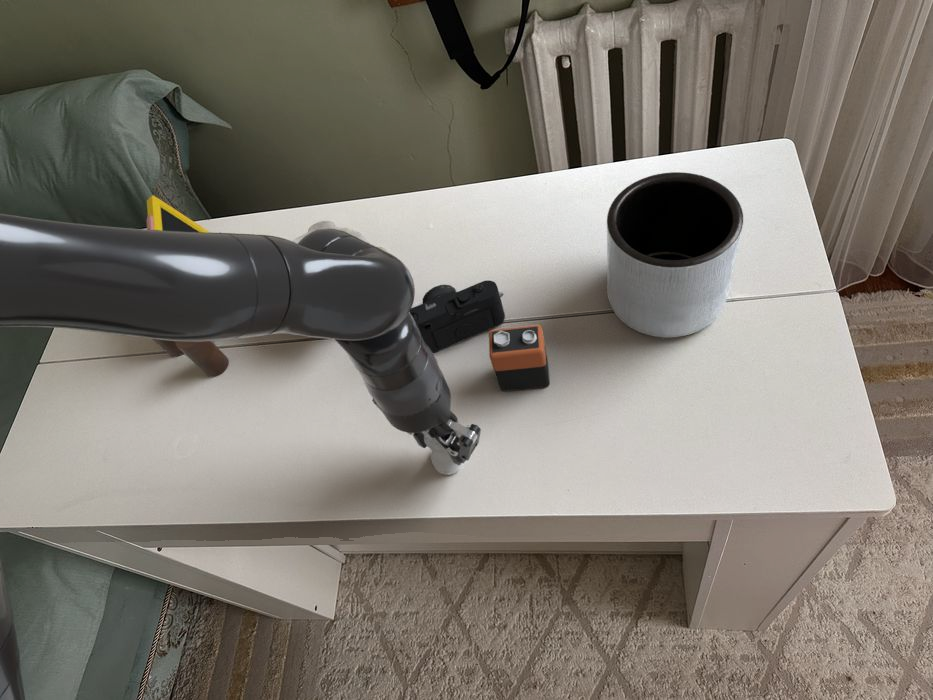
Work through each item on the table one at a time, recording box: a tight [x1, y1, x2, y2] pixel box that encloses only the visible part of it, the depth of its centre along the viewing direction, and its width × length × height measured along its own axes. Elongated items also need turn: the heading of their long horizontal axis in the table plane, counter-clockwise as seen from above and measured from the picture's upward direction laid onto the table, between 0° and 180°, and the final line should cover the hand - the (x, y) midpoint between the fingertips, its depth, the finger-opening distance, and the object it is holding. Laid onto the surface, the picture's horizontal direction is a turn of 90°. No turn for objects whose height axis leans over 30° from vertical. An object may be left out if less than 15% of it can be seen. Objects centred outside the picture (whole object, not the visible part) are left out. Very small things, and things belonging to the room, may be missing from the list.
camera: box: [409, 279, 506, 354], centre depth 90 cm, size 14×7×8 cm, turn 110°
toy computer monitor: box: [146, 195, 211, 233], centre depth 100 cm, size 20×8×16 cm, turn 20°
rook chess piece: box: [424, 435, 466, 475], centre depth 78 cm, size 4×4×8 cm
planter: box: [606, 171, 744, 338], centre depth 82 cm, size 16×16×16 cm
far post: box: [151, 339, 185, 358], centre depth 99 cm, size 4×4×8 cm
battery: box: [488, 324, 551, 392], centre depth 82 cm, size 4×7×10 cm, turn 90°
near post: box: [175, 341, 230, 378], centre depth 95 cm, size 4×4×8 cm
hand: (444, 449), depth 79 cm, fingers open, 4 cm apart
